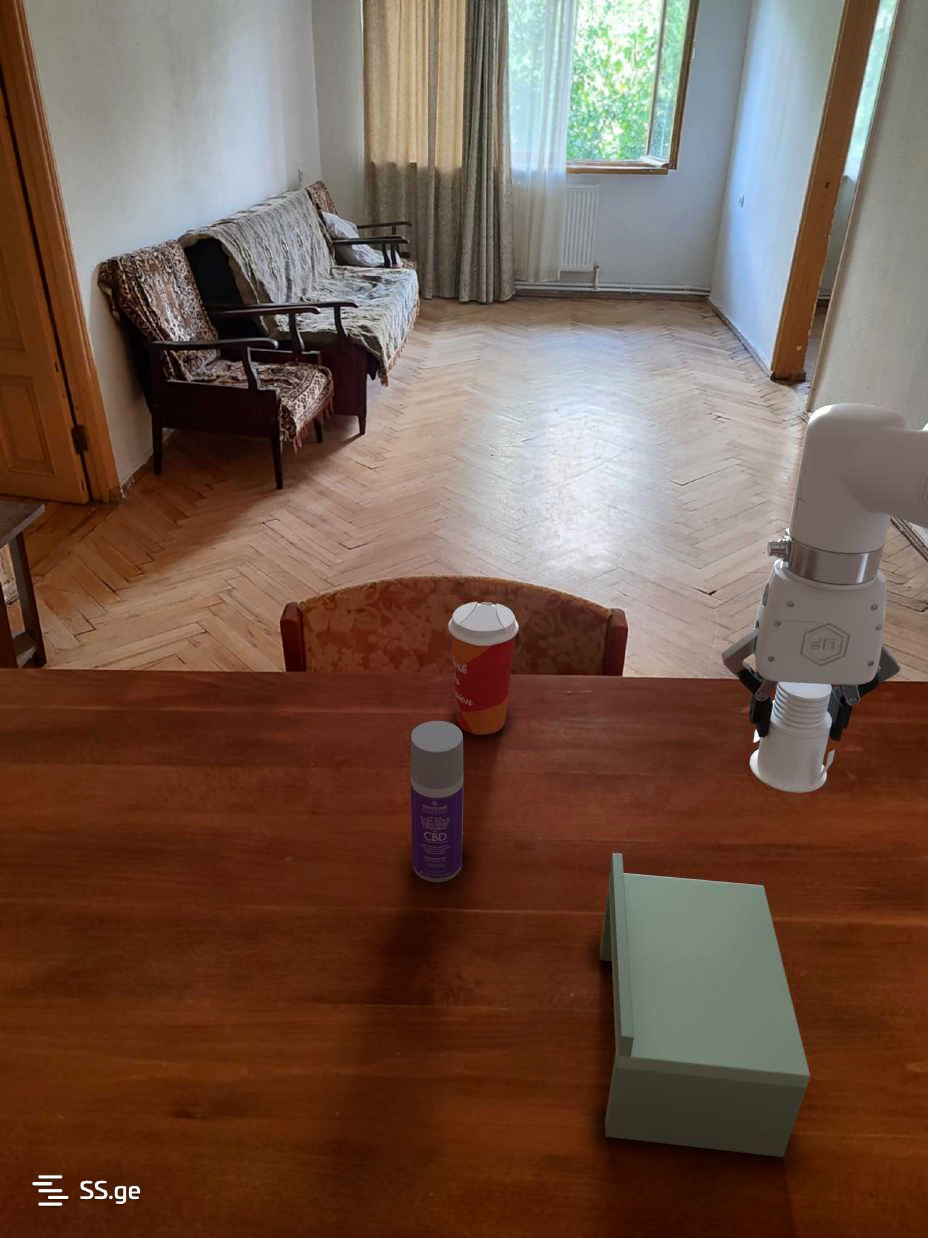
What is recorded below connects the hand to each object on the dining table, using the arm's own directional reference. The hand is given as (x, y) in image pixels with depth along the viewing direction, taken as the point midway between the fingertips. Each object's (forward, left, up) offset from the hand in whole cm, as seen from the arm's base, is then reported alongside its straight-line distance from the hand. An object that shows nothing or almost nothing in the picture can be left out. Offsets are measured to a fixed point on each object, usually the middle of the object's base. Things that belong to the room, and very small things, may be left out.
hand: (795, 729), depth 83 cm
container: (+33, +10, -12) cm, 36 cm away
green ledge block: (+12, +26, -12) cm, 30 cm away
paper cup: (+31, -13, -12) cm, 35 cm away
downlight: (0, 0, -5) cm, 5 cm away
